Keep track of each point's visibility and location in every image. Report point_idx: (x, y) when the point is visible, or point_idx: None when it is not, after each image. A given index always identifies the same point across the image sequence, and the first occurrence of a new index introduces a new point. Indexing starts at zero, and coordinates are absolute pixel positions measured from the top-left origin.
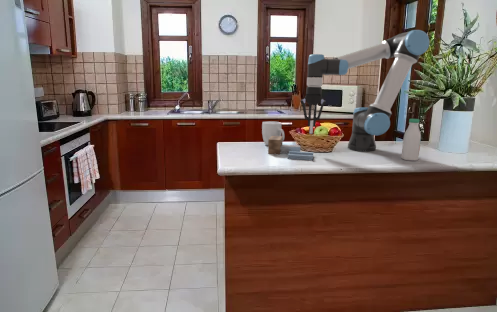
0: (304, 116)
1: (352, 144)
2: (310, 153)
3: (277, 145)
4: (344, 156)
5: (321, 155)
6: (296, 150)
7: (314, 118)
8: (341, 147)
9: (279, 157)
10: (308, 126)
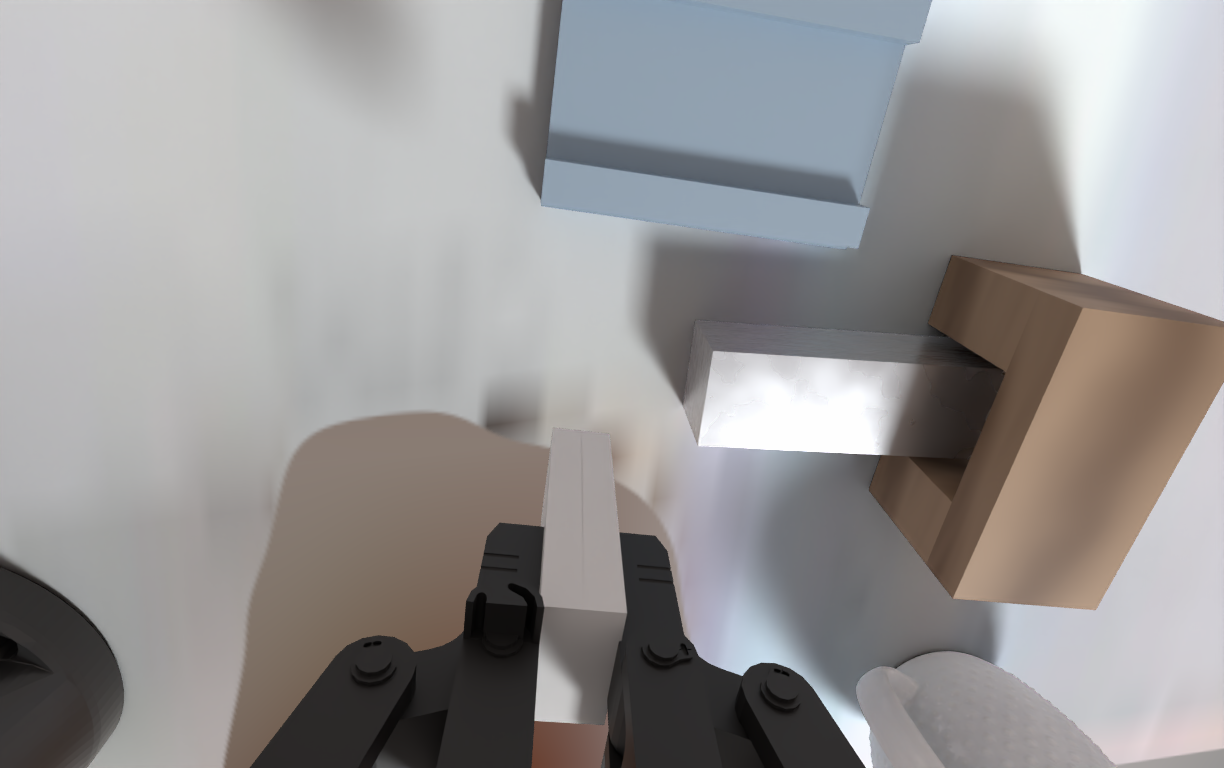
0: (840, 736)
1: (20, 667)
2: (584, 164)
3: (1056, 287)
4: (125, 252)
5: (430, 270)
6: (748, 337)
7: (500, 671)
8: (197, 699)
9: (996, 72)
10: (646, 536)
